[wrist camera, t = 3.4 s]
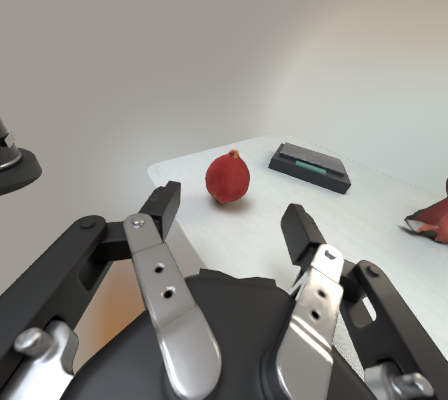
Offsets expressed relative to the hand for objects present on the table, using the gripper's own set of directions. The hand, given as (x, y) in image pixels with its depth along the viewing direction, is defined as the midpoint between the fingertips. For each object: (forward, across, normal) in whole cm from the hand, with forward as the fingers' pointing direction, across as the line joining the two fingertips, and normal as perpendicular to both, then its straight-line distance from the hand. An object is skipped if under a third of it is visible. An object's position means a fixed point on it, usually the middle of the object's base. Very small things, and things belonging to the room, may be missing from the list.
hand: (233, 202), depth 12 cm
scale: (+29, -19, +7) cm, 35 cm away
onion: (+10, 0, +8) cm, 12 cm away
